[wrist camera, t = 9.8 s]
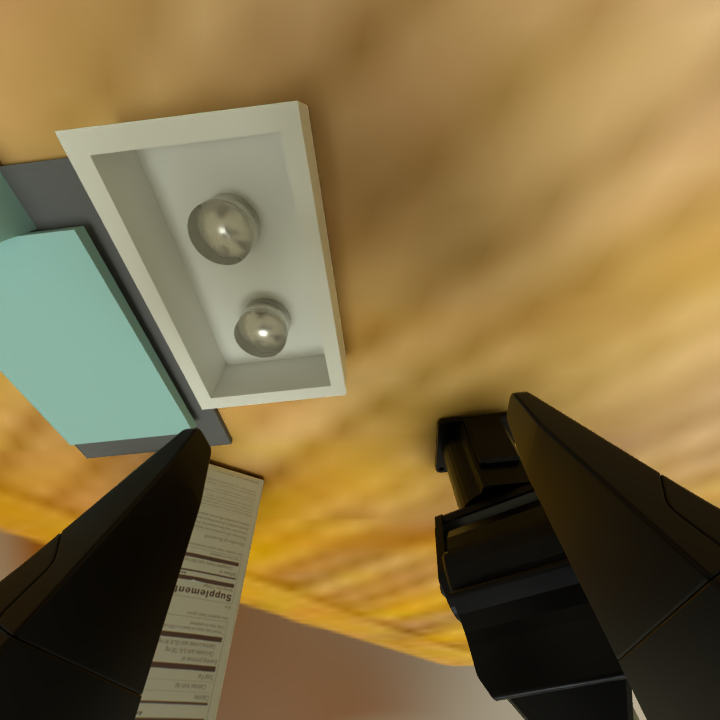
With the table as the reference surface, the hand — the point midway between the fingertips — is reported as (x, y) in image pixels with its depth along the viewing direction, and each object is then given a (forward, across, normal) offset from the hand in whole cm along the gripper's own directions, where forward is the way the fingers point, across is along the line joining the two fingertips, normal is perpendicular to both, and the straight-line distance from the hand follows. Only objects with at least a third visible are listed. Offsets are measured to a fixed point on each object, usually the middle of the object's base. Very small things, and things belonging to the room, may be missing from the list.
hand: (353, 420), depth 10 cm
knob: (+11, +5, +2) cm, 12 cm away
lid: (+11, +17, +1) cm, 21 cm away
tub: (+12, +5, -1) cm, 13 cm away
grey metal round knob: (+11, +6, -4) cm, 13 cm away
